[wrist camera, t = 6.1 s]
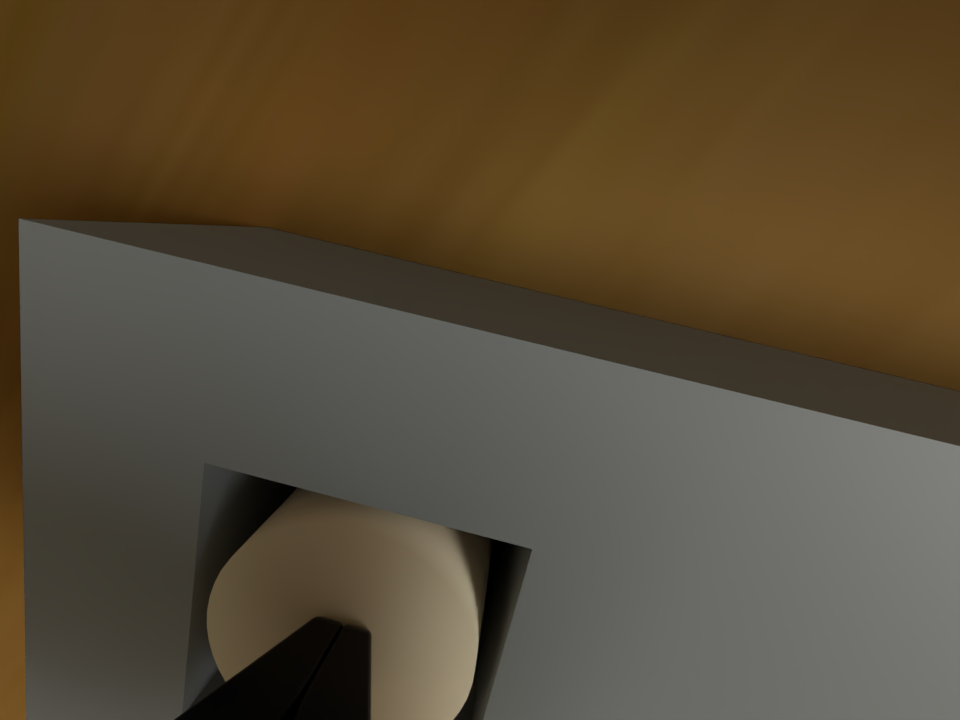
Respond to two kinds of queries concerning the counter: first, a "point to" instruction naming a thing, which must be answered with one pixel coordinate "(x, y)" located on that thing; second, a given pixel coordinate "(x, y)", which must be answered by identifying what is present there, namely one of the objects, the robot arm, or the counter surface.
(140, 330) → the grey peg board
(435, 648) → the birch peg
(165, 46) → the counter surface
